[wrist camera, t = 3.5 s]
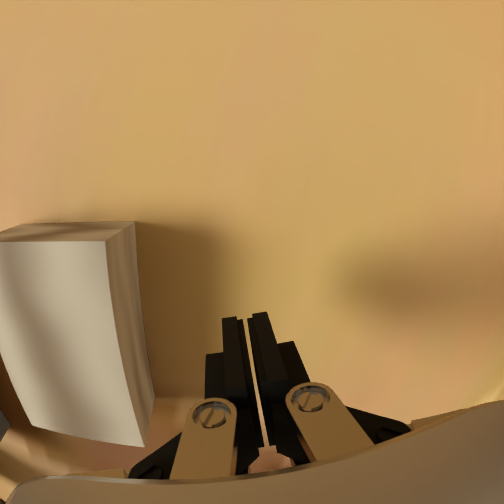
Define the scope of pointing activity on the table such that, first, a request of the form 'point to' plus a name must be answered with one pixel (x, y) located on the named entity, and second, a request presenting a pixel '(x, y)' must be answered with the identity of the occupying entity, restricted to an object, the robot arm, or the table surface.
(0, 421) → the curved slate gray block
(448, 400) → the table surface
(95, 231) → the off-white block
